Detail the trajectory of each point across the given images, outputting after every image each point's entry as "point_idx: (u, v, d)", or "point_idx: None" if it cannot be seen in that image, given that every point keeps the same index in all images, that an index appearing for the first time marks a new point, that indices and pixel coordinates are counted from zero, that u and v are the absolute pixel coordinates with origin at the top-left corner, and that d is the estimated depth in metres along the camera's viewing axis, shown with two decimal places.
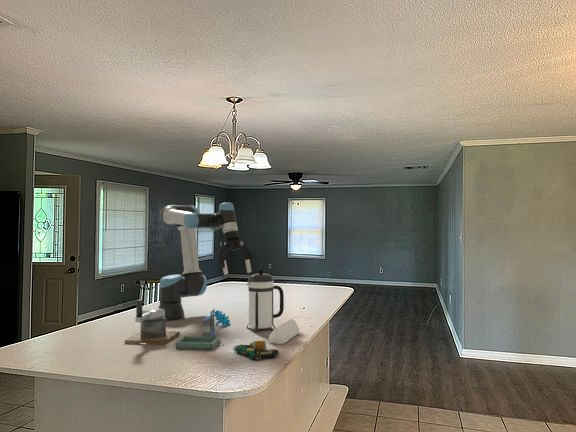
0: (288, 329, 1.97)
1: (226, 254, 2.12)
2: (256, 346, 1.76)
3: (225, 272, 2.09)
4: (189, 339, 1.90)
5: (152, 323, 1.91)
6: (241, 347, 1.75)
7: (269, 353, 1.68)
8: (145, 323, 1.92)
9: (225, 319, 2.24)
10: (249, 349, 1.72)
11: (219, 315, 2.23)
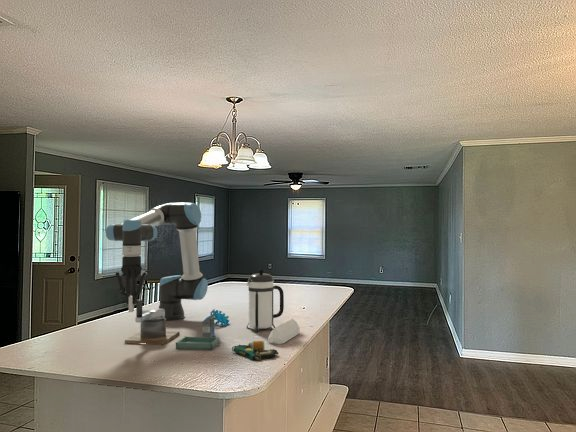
0: (288, 329, 1.96)
1: (128, 287, 1.83)
2: (254, 346, 1.76)
3: None
4: (189, 339, 1.90)
5: (152, 323, 1.91)
6: (240, 347, 1.74)
7: (268, 353, 1.68)
8: (145, 323, 1.92)
9: (224, 319, 2.24)
10: (248, 349, 1.72)
11: (218, 315, 2.23)
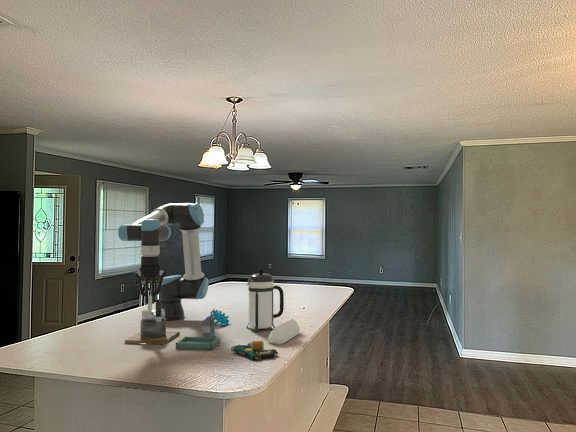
0: (288, 329, 1.96)
1: (147, 287, 1.82)
2: (254, 346, 1.76)
3: (148, 310, 1.82)
4: (189, 339, 1.90)
5: (152, 323, 1.91)
6: (239, 347, 1.74)
7: (268, 353, 1.68)
8: (145, 323, 1.92)
9: (224, 319, 2.24)
10: (247, 349, 1.72)
11: (218, 315, 2.23)
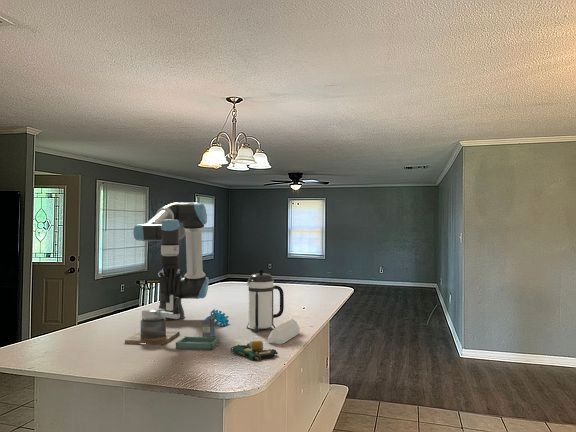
0: (288, 329, 1.96)
1: (169, 286, 1.86)
2: (253, 346, 1.76)
3: (168, 308, 1.86)
4: (189, 339, 1.90)
5: (152, 323, 1.91)
6: (238, 348, 1.74)
7: (268, 353, 1.68)
8: (145, 323, 1.92)
9: (223, 319, 2.24)
10: (247, 349, 1.72)
11: (217, 315, 2.23)
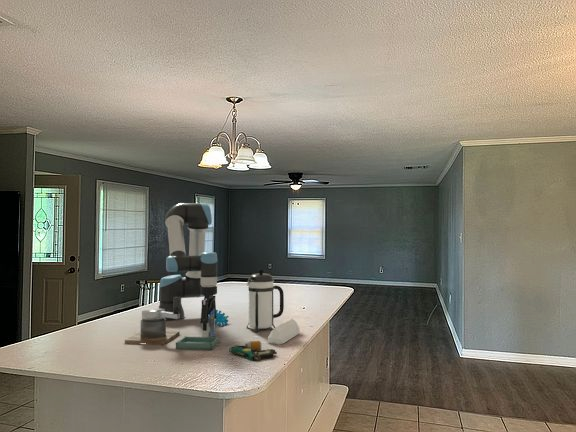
0: (288, 329, 1.96)
1: (208, 315, 1.96)
2: (252, 346, 1.76)
3: (205, 335, 1.94)
4: (189, 339, 1.90)
5: (152, 323, 1.91)
6: (237, 348, 1.73)
7: (267, 353, 1.68)
8: (145, 323, 1.92)
9: (223, 319, 2.25)
10: (246, 350, 1.71)
11: (217, 314, 2.24)
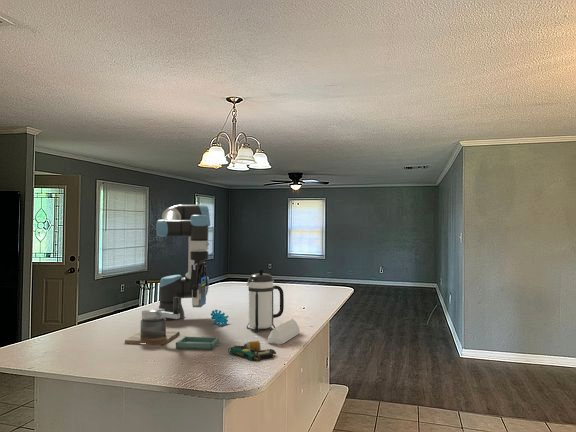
0: (288, 329, 1.96)
1: (198, 281, 1.82)
2: (251, 347, 1.76)
3: (195, 303, 1.81)
4: (189, 339, 1.90)
5: (152, 323, 1.91)
6: (236, 348, 1.73)
7: (267, 353, 1.68)
8: (145, 323, 1.92)
9: (222, 319, 2.25)
10: (245, 350, 1.71)
11: (216, 314, 2.24)
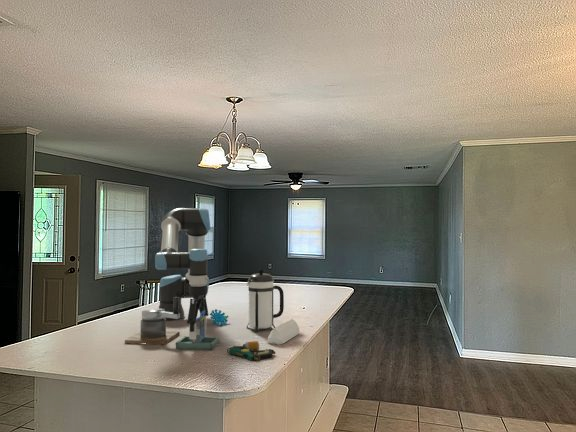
0: (288, 329, 1.96)
1: (196, 315, 1.80)
2: (250, 347, 1.75)
3: (193, 337, 1.78)
4: (189, 339, 1.90)
5: (152, 323, 1.91)
6: (235, 348, 1.72)
7: (266, 353, 1.68)
8: (145, 323, 1.92)
9: (222, 318, 2.25)
10: (244, 350, 1.71)
11: (216, 314, 2.25)
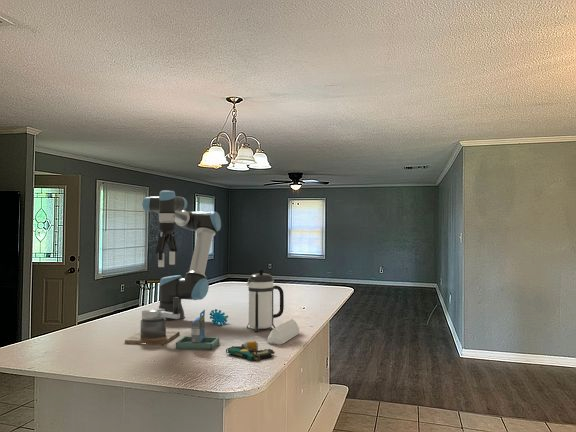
0: (288, 329, 1.96)
1: (164, 246, 2.07)
2: (248, 347, 1.75)
3: (161, 265, 2.05)
4: (189, 339, 1.90)
5: (152, 323, 1.91)
6: (234, 349, 1.72)
7: (266, 353, 1.68)
8: (145, 323, 1.92)
9: (221, 318, 2.25)
10: (243, 350, 1.71)
11: (215, 314, 2.25)
